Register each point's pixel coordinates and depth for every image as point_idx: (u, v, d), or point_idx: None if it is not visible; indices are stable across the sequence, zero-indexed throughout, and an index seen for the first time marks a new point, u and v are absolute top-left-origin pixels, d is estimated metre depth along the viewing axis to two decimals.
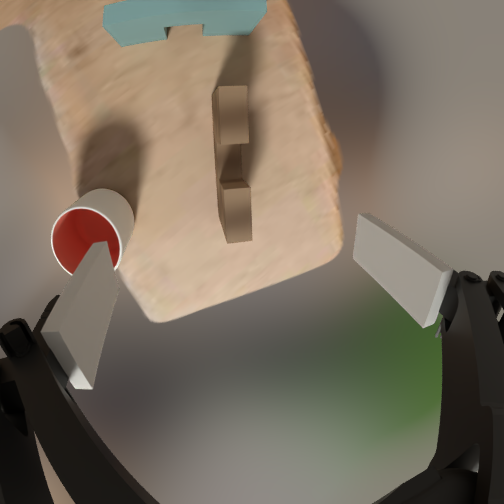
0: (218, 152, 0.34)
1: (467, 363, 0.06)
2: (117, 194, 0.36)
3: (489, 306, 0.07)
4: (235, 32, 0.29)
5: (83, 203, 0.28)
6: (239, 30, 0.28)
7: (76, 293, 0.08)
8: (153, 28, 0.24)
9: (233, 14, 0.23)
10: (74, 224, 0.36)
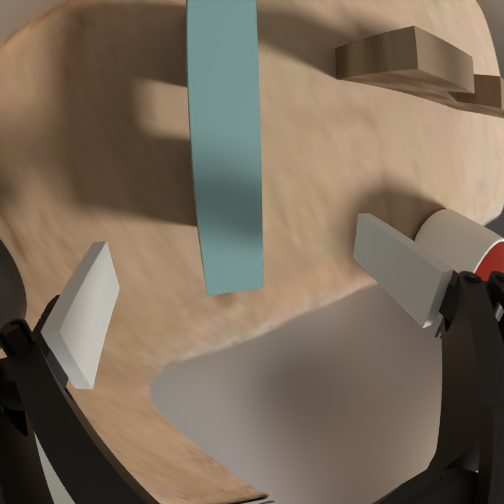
0: (434, 91, 0.17)
1: (467, 363, 0.06)
2: (428, 226, 0.27)
3: (489, 306, 0.07)
4: None
5: None
6: None
7: (76, 293, 0.08)
8: None
9: None
10: None
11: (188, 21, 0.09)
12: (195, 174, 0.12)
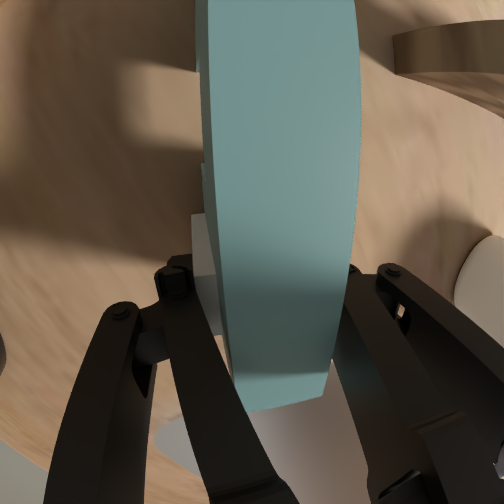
0: None
1: (368, 376, 0.06)
2: (478, 256, 0.21)
3: (375, 298, 0.08)
4: None
5: None
6: None
7: (210, 248, 0.11)
8: None
9: None
10: None
11: None
12: (223, 243, 0.06)
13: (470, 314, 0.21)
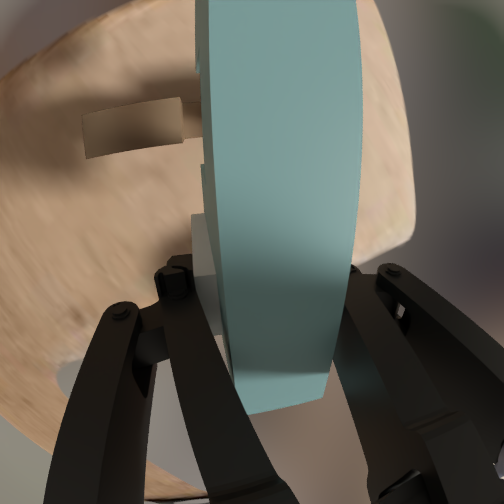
0: (201, 135, 0.21)
1: (369, 376, 0.06)
2: None
3: (375, 298, 0.08)
4: None
5: None
6: None
7: (210, 248, 0.11)
8: None
9: None
10: None
11: None
12: (224, 247, 0.06)
13: None
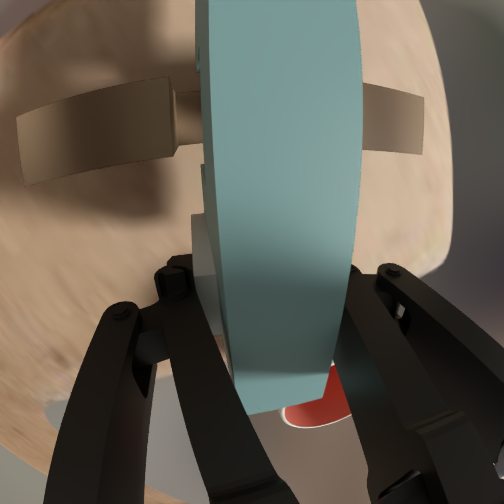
0: None
1: (368, 376, 0.06)
2: None
3: (375, 298, 0.08)
4: None
5: None
6: None
7: (210, 248, 0.11)
8: None
9: None
10: None
11: None
12: (224, 247, 0.06)
13: None
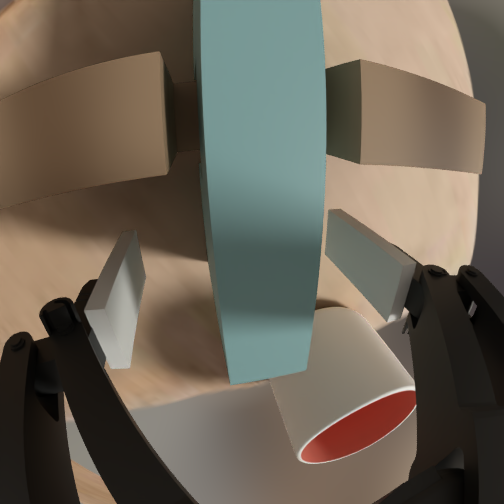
0: None
1: (440, 363, 0.06)
2: None
3: (458, 300, 0.07)
4: None
5: (294, 438, 0.15)
6: None
7: (116, 275, 0.09)
8: None
9: None
10: None
11: None
12: (214, 226, 0.07)
13: None
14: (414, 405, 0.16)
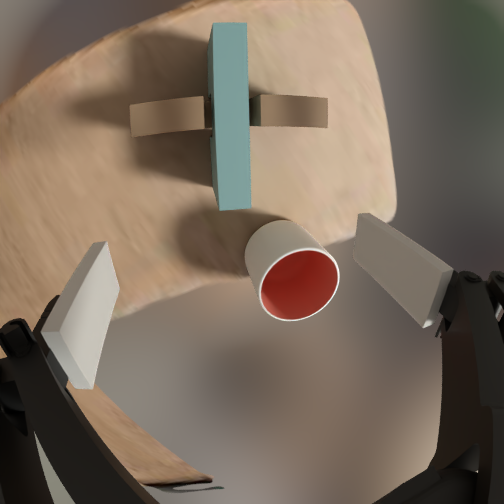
0: None
1: (467, 363, 0.06)
2: (253, 236, 0.37)
3: (489, 306, 0.07)
4: None
5: (256, 282, 0.32)
6: None
7: (76, 293, 0.08)
8: None
9: None
10: (277, 285, 0.41)
11: (213, 67, 0.20)
12: (216, 143, 0.23)
13: None
14: (337, 278, 0.33)
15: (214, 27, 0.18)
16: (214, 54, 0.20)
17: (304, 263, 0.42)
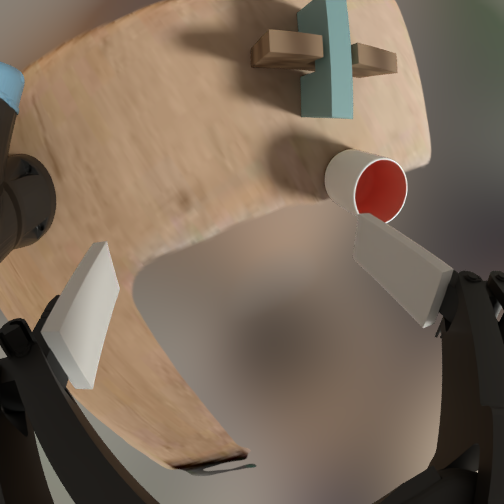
0: None
1: (467, 363, 0.06)
2: (333, 159, 0.41)
3: (489, 306, 0.07)
4: None
5: (350, 186, 0.35)
6: None
7: (76, 293, 0.08)
8: None
9: None
10: None
11: (327, 18, 0.24)
12: (331, 68, 0.27)
13: (334, 196, 0.41)
14: (405, 189, 0.36)
15: None
16: (327, 11, 0.23)
17: (368, 190, 0.45)
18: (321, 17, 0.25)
